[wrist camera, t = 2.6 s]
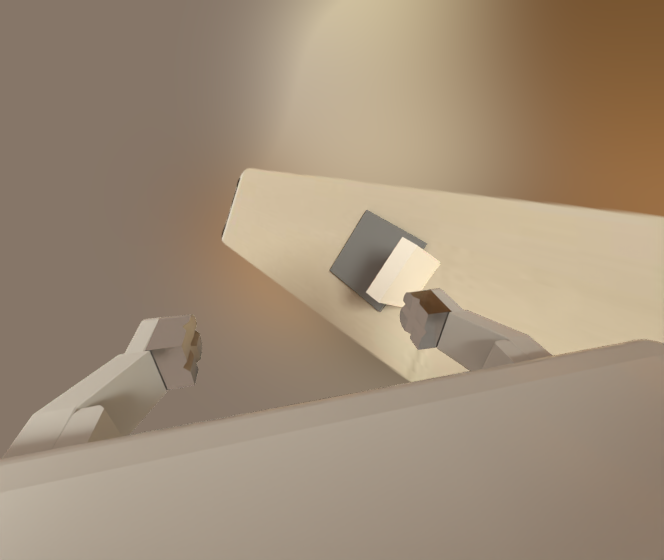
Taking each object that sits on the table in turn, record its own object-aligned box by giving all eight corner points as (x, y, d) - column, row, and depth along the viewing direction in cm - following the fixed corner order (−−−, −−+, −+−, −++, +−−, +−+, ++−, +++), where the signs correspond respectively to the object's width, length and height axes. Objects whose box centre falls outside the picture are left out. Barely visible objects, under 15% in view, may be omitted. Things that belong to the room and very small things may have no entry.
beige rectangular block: (441, 262, 43) (417, 245, 35) (408, 308, 45) (378, 302, 37) (426, 254, 45) (400, 235, 36) (395, 298, 47) (364, 291, 38)
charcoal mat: (427, 243, 45) (426, 243, 45) (380, 311, 48) (379, 311, 48) (368, 210, 53) (366, 209, 53) (331, 270, 56) (329, 270, 56)
